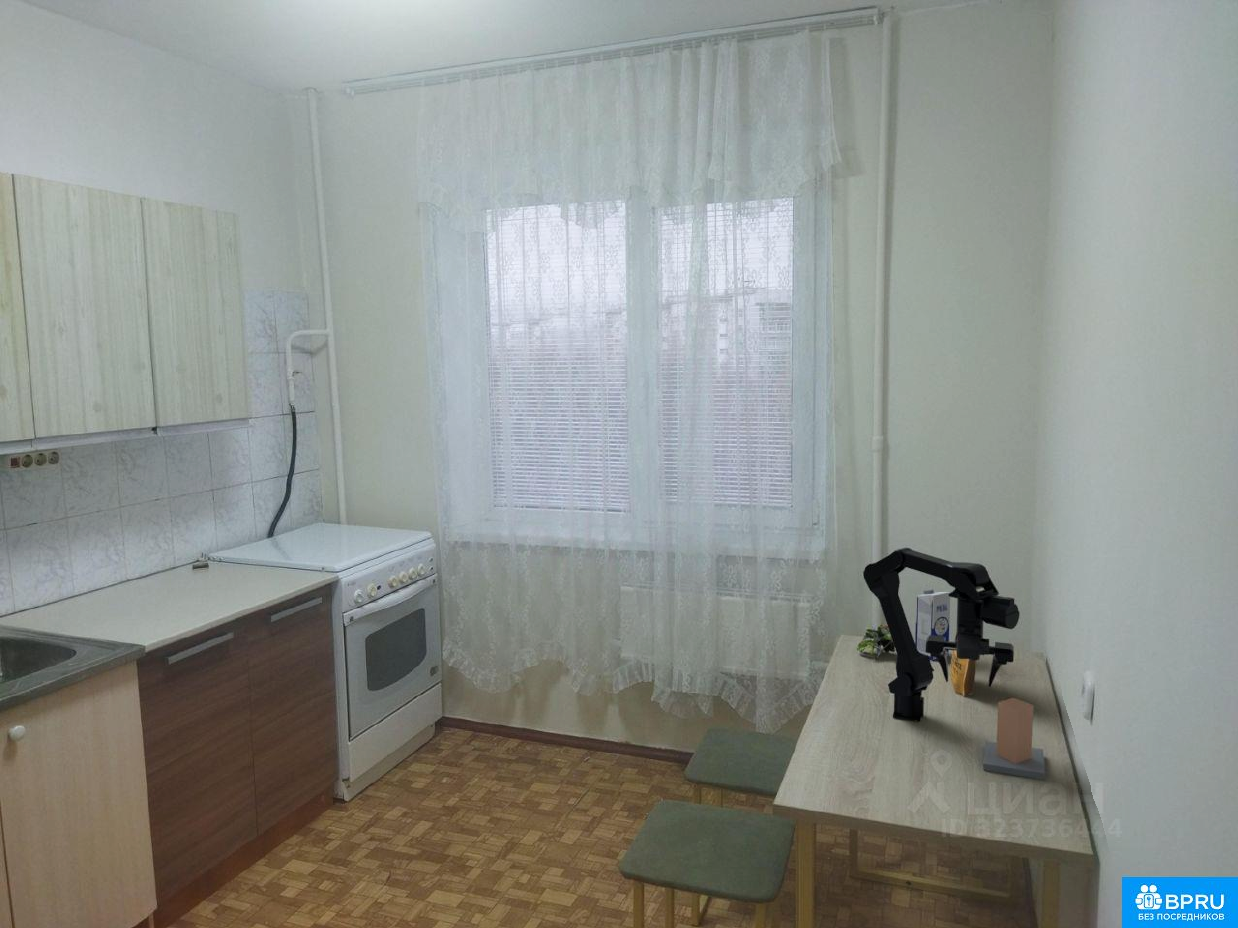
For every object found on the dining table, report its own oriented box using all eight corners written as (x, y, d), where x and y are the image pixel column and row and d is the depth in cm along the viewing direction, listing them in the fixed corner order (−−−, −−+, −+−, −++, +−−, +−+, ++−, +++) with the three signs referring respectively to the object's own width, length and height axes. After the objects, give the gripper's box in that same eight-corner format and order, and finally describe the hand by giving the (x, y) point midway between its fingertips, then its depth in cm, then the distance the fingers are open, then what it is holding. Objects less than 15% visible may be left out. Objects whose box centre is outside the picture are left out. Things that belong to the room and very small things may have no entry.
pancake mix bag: (972, 674, 242) (975, 576, 239) (982, 700, 224) (986, 595, 221) (946, 672, 244) (949, 575, 241) (955, 697, 226) (958, 593, 222)
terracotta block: (996, 754, 190) (998, 702, 189) (1011, 749, 192) (1013, 697, 191) (1016, 763, 186) (1018, 710, 184) (1031, 758, 188) (1033, 705, 187)
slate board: (983, 769, 186) (983, 763, 186) (984, 746, 197) (984, 740, 197) (1044, 780, 181) (1045, 773, 181) (1042, 755, 192) (1043, 749, 192)
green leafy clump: (885, 670, 262) (911, 640, 259) (876, 674, 252) (903, 644, 249) (856, 644, 267) (881, 615, 264) (846, 647, 257) (872, 617, 254)
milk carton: (931, 660, 253) (933, 594, 251) (914, 654, 259) (915, 589, 257) (949, 656, 257) (950, 591, 254) (931, 650, 263) (933, 586, 260)
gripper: (924, 624, 195) (922, 690, 197) (1014, 633, 188) (1012, 702, 190) (928, 611, 206) (926, 674, 207) (1014, 619, 198) (1012, 684, 200)
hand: (968, 683), depth 201 cm, fingers open, 9 cm apart
